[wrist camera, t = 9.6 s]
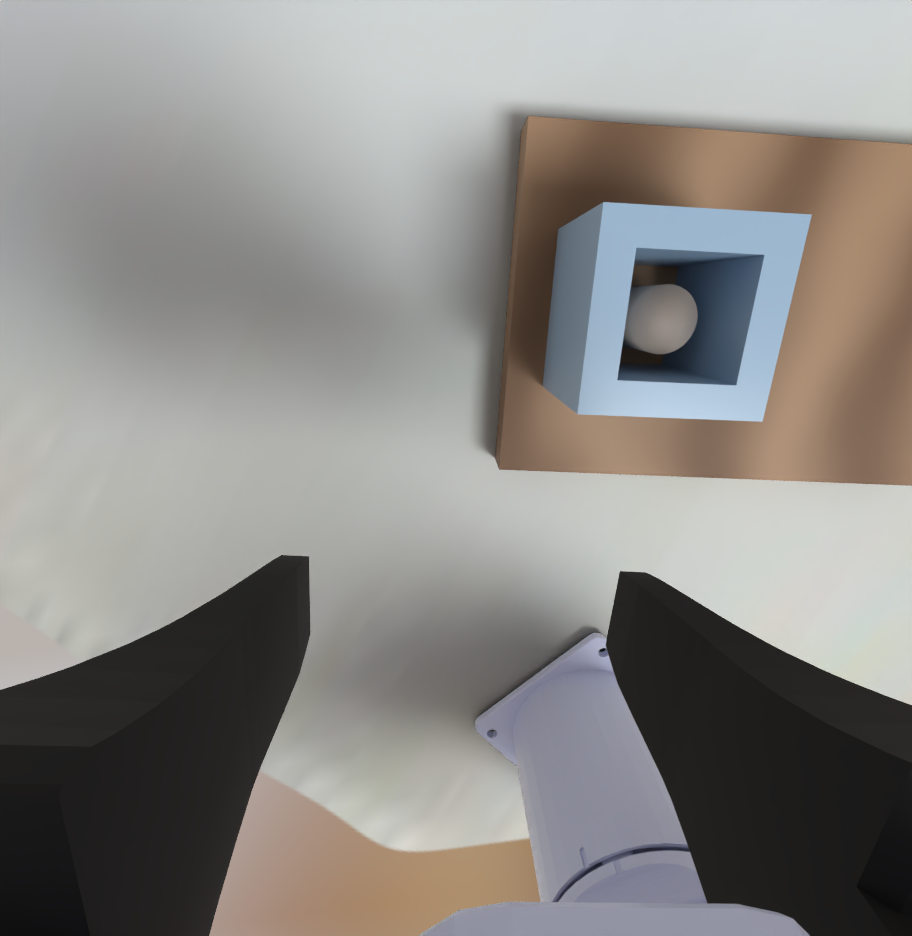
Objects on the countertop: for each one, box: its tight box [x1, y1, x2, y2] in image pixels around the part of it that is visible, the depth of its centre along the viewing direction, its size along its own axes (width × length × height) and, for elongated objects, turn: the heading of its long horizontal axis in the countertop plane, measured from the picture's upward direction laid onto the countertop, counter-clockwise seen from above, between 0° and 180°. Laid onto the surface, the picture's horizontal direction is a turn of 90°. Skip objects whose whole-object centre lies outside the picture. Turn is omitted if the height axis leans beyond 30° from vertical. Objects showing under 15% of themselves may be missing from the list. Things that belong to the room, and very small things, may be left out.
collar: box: [543, 202, 812, 422], centre depth 16 cm, size 5×5×5 cm
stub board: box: [495, 116, 912, 486], centre depth 18 cm, size 18×12×5 cm, turn 87°
